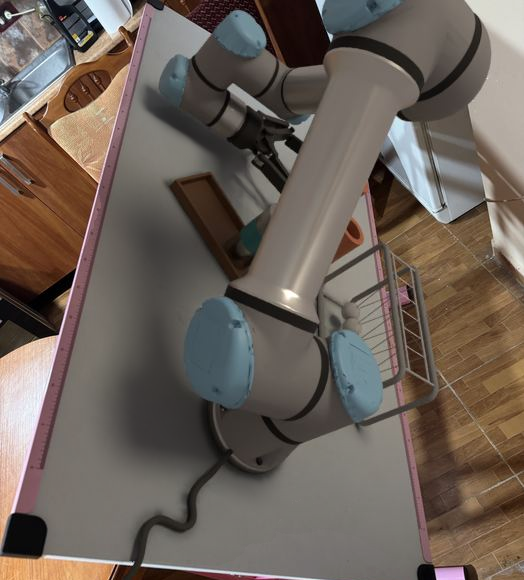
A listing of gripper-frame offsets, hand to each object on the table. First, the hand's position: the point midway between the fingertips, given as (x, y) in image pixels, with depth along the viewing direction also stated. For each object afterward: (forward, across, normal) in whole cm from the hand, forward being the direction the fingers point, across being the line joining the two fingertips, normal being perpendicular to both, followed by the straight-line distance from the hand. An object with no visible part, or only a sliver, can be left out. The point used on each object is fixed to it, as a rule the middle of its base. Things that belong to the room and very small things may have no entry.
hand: (312, 177), depth 118 cm
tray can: (-16, +26, -6) cm, 31 cm away
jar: (+5, +14, -7) cm, 17 cm away
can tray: (-17, +24, -6) cm, 30 cm away
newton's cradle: (+10, +36, -7) cm, 38 cm away
